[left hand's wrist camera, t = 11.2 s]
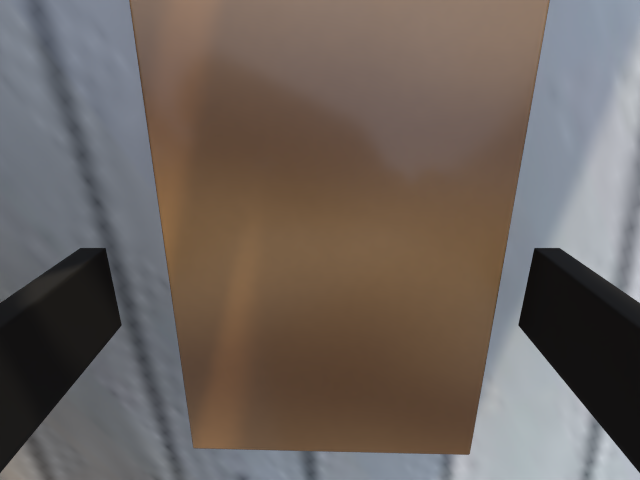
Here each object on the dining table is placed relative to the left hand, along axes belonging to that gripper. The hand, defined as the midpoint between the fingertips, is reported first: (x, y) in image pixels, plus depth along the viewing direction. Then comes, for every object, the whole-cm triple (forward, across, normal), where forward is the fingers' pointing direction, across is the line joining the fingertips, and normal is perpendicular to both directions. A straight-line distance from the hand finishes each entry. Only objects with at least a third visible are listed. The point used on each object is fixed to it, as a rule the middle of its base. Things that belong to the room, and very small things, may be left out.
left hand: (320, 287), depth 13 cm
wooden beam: (+6, -1, -29) cm, 30 cm away
